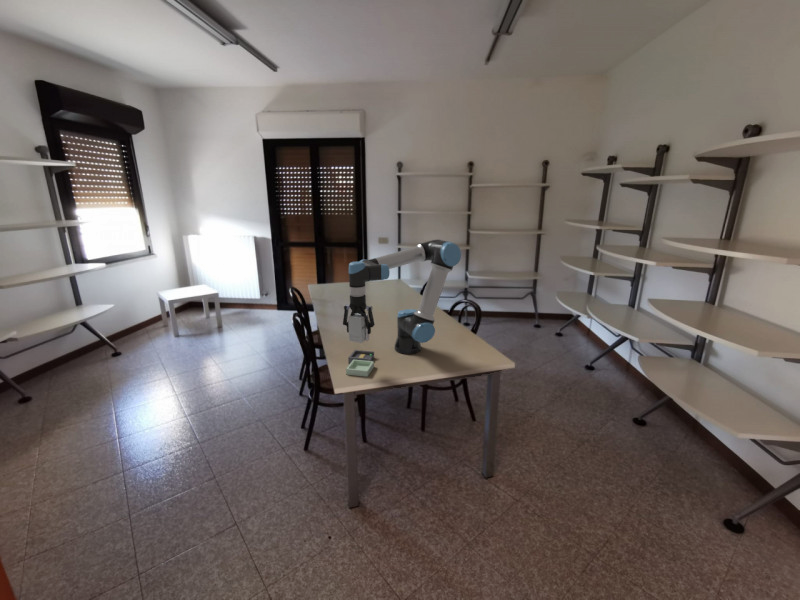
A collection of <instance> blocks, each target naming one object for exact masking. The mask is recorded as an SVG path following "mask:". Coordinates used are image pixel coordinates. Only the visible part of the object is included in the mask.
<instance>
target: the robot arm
mask: <svg viewBox="0 0 800 600" xmlns="http://www.w3.org/2000/svg"><path fill="white" fill-rule="evenodd" d="M461 259H462V250H461V248H460V247H459V245H458V244H457V243H454V242H452V241H447V240H443V239H432V240H428V241H425V242H422V243H418V244H417V245H416V246H415V247H410V248H407V249H404V250H399V251H396V252H392V253H388V254H385V255H382V256H378V257H375V258H371V259H361V260H359V261H352V262H350V263H348V271H347V272H348V282H349V283H348V285H349V287H348V289H349V304H344V306H343V310H344V313H343V320H342V325H343V326H346V333H348V334H349V324H348V317H349V316H353V315H354V314H357V313H358V314H361V316H363V317H364V319H365V324H366V326H367V328H366V340H365V341H366V342H368V341H369V340H370V334H372V328H374V327H375V320H374V315H373V306H371V305H370V306H369V305H368V306H367V302H366V301H367V298H366V296H367V295H366V282H374V281H375V282H376V281H384V280H388V279H389V278H390V275H391V274H390V270H392V269H395V268H398V267H402V266H405V265H409V264H412V263H416V262H419V261H420V262H426V261H430V266H431V270H430V274H429V277H428V279H427V282H426V285H425V287H424V291H423V293H422V296H421V300H420V303H419V306H418V308H417V309H414V308H413V309H412V308H409V309H408V308H407V309H401V310H399V311H398V312H397V317H396V318H397V322H396V323H397V324H396V325H397V337H396V340H395V343H394V350H395V351H396V352H397V353H398V354H404V355H412V354H417V353H419V352H421V350H422V344H423V343H428V342H429V341H431V340H432V338H434V336H435V333H436V328H435V326H434V323H435V320H436V319H435V317H434V315H435V312H436V309H437V306H438V303H439V300H440V297H441V294H442V292H443V289H444V285H445V282H446V280H447V276H448V274H449V273H450V272H452V271H453V268H454V267H455V266H457V265H458V264H459V263H460V262H461ZM349 310H351V313H350V315H349ZM366 311H367V313H368V318H367V316H366V314H367V313H366ZM421 343H422V344H421Z"/></svg>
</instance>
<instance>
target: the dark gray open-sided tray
mask: <svg viewBox="0 0 800 600" xmlns="http://www.w3.org/2000/svg"><path fill="white" fill-rule="evenodd" d="M353 359H354V360H364V361H373V360H374V359H375V351H374V350H373V351H372V350H371V351H370V350H359V349H354V350H353V351H352V352H351V353H350V355H349V356H348V365H350V363H351V362H352V361H353Z"/></svg>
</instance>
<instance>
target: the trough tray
mask: <svg viewBox="0 0 800 600" xmlns="http://www.w3.org/2000/svg"><path fill="white" fill-rule="evenodd" d="M374 368H375V362H374V361H373V360H372V361H364V360H354V359H353V361H352V362H351V363H350V364H348V365H347V367H346V369H345V374H346V375H347V376H356V377H366V378H368V377H369V375H370V374H371V372H372V371H373V369H374Z"/></svg>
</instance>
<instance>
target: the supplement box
mask: <svg viewBox="0 0 800 600" xmlns="http://www.w3.org/2000/svg"><path fill="white" fill-rule="evenodd" d="M366 316H367V318H368V319H369V315H368V314H367V313H366ZM347 322H348V324H349V333H348V341H349V342H354V343H359V344H362V343H364V342H365V341H366V328H367V326H366V324H365V319H364V317H363V316H361V314H358V313H357V314H354V315H353V316H350V315H348V318H347Z"/></svg>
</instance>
